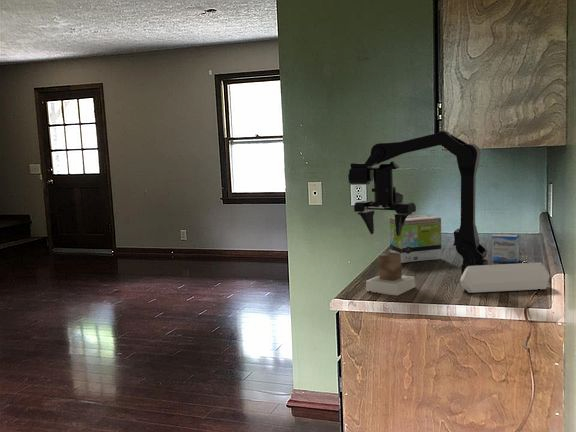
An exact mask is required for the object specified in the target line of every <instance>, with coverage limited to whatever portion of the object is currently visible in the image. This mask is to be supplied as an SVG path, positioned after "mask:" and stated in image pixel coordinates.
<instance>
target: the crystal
mask: <svg viewBox="0 0 576 432" xmlns="http://www.w3.org/2000/svg"><path fill="white" fill-rule="evenodd" d="M459 281H460V282H459V283H460V284H461V285H460V286H461V287H462V288H463V289H464V290H465V291H466V292H468V293H469V294H475V293H477V294H478V293H496V292H513V291H514V292H516V291H534V290H536V291H537V290H538V289H540V290H547V288H548V283H549V281H550V273H549V271H548V270H547V268H546V267H545V266H544V264H543V263H542V262H541V261H540V262H522V263H521V262H519V263H518V262H517V263H504V264H503V263H502V264H500V263H499V264H488V265H478V266H468V267H467V268H466V269H465V270H464V272H463V274H462V276H460V279H459Z"/></svg>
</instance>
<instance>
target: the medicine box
mask: <svg viewBox="0 0 576 432" xmlns="http://www.w3.org/2000/svg"><path fill="white" fill-rule="evenodd" d="M491 250H492V251H491V252H492V253H491V258H492V259H491V261H492V262H493V263H512V262H515V263H514V264H518V262H519V260H520V236H519V234H501V233H500V234H499V233H498V234H494V233H493V235H492V236H491Z"/></svg>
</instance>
